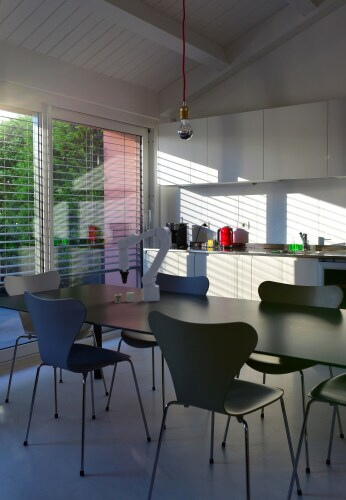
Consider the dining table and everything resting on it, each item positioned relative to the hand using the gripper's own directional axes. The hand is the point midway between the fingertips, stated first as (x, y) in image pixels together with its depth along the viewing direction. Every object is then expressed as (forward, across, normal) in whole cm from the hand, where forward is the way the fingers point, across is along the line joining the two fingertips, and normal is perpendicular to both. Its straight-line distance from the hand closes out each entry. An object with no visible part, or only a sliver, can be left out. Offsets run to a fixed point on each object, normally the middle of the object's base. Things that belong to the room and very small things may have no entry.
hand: (124, 282), depth 304 cm
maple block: (+8, +10, -4) cm, 13 cm away
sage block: (+10, +7, +3) cm, 13 cm away
